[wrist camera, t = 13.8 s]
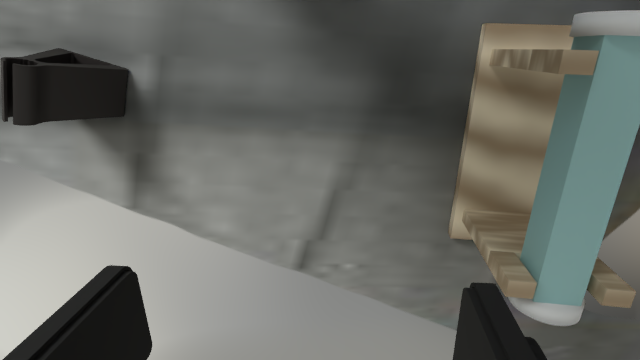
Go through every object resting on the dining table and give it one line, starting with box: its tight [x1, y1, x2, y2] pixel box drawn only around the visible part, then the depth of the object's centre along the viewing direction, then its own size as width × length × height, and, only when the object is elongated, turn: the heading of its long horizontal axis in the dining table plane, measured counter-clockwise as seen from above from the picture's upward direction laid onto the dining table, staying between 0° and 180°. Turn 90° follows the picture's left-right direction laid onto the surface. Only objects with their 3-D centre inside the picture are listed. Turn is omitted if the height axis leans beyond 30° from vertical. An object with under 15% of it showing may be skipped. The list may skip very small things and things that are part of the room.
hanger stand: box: [448, 23, 636, 308], centre depth 36 cm, size 25×12×16 cm, turn 178°
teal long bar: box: [508, 10, 640, 326], centre depth 31 cm, size 25×6×6 cm, turn 178°
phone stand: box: [1, 48, 128, 125], centre depth 41 cm, size 9×6×12 cm, turn 74°
